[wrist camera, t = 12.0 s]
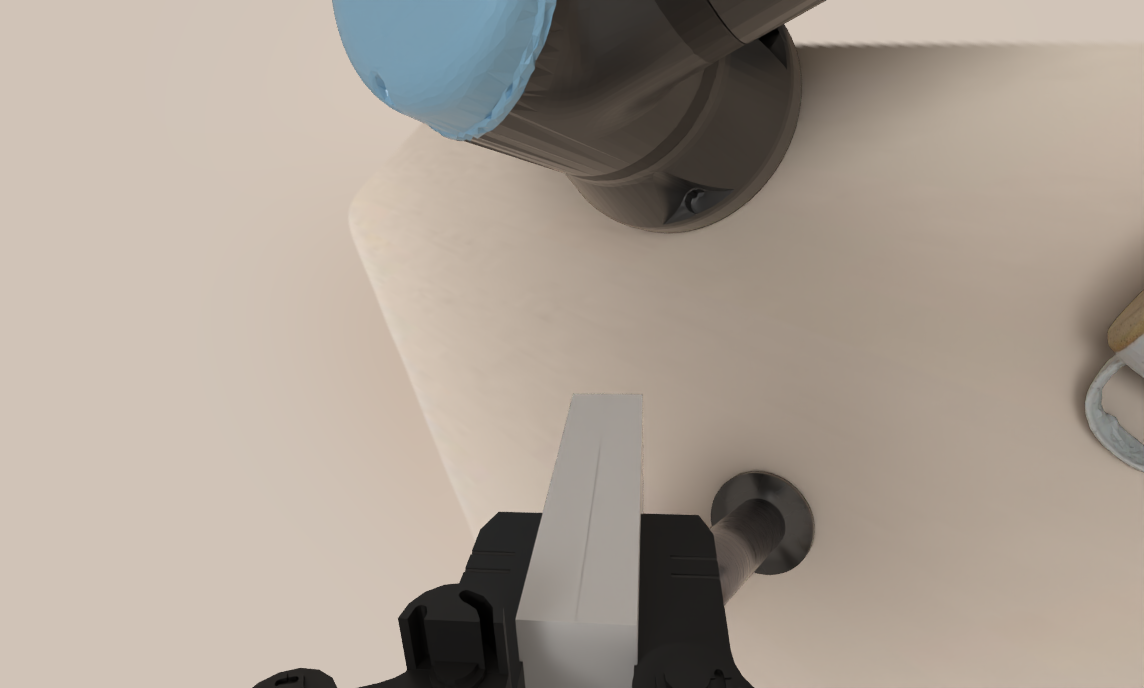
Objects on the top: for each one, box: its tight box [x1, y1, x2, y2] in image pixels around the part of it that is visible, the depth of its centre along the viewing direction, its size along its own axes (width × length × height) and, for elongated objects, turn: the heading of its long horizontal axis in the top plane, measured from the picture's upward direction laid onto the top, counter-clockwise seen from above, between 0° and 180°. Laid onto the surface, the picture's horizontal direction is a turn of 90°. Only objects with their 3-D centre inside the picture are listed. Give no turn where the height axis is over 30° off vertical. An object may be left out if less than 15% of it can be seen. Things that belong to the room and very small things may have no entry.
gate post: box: [710, 471, 814, 605], centre depth 32 cm, size 6×6×16 cm
